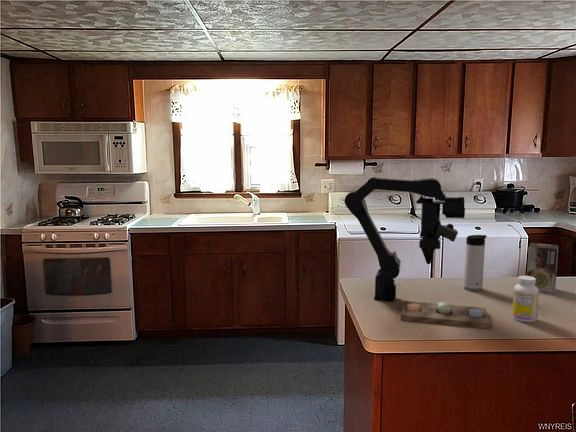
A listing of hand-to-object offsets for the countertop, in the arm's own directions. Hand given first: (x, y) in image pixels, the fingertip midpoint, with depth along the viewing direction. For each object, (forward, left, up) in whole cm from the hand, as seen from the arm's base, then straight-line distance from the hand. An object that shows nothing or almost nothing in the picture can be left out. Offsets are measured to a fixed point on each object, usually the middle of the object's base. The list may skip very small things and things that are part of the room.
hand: (428, 263), depth 152 cm
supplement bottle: (+28, -8, -13) cm, 32 cm away
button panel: (+5, -12, -13) cm, 18 cm away
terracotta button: (-4, -12, -13) cm, 18 cm away
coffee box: (+39, +24, -13) cm, 48 cm away
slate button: (+14, -12, -13) cm, 22 cm away
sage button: (+5, -12, -12) cm, 17 cm away
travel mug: (+16, +18, -13) cm, 27 cm away
